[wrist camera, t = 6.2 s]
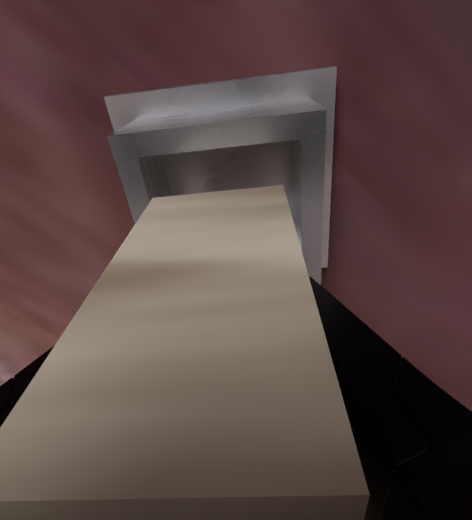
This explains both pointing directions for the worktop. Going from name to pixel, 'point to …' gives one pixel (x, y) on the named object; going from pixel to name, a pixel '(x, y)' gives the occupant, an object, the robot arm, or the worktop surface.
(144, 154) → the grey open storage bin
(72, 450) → the beige rectangular block
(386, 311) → the worktop surface
